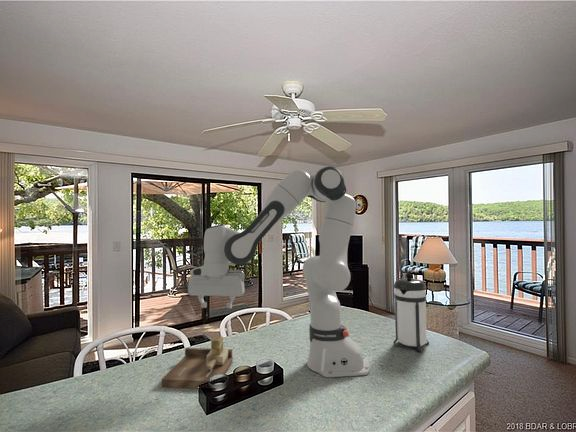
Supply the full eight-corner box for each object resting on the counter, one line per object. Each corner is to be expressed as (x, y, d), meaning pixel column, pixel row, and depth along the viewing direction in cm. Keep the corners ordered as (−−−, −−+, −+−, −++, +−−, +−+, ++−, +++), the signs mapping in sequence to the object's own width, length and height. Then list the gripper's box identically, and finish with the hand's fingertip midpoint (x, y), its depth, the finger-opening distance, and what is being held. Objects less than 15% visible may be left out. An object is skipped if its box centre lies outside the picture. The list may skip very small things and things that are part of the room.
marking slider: (228, 357, 110) (227, 335, 110) (217, 373, 99) (217, 348, 99) (212, 356, 111) (212, 335, 111) (200, 372, 99) (199, 348, 100)
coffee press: (440, 352, 117) (438, 276, 118) (399, 353, 118) (397, 276, 118) (421, 335, 135) (419, 269, 135) (386, 336, 135) (384, 269, 136)
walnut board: (232, 362, 112) (232, 349, 112) (215, 389, 94) (215, 373, 94) (186, 361, 114) (186, 347, 114) (161, 387, 96) (161, 371, 96)
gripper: (246, 268, 110) (246, 306, 110) (193, 268, 113) (193, 304, 112) (242, 271, 104) (242, 311, 104) (186, 270, 106) (186, 309, 106)
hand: (216, 307), depth 108 cm, fingers open, 8 cm apart
